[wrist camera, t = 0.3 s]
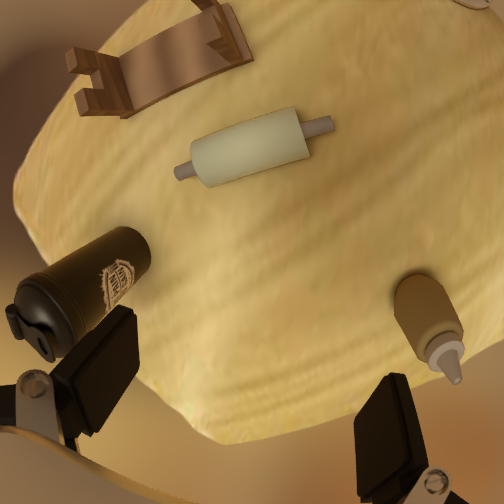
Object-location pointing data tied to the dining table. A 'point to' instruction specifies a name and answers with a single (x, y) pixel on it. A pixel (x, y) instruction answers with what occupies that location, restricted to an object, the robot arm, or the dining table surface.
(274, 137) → the roll
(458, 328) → the squeeze bottle
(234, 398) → the dining table surface
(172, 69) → the holder
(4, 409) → the robot arm
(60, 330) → the water bottle
